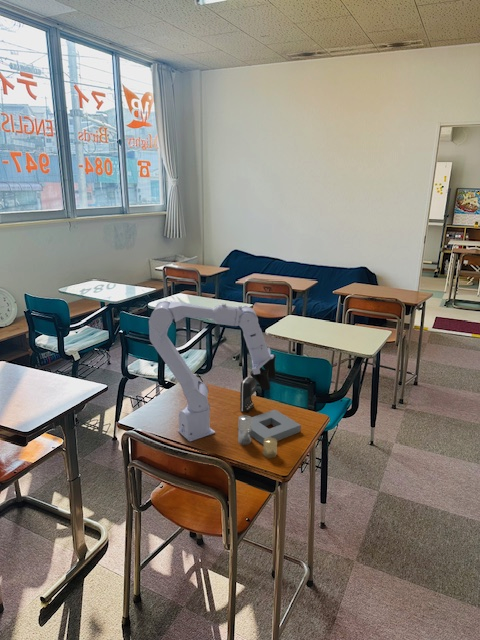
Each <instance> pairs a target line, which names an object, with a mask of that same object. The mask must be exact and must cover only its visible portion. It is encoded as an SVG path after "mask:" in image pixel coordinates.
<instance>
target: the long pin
mask: <svg viewBox="0 0 480 640" xmlns="http://www.w3.org/2000/svg"><path fill="white" fill-rule="evenodd" d="M251 417H252V416H250V415H248V414H243V415H240V416H238V426H237V427H238V431H237V433H238V434H237V437H238V439H237V442H238V443H239V444H240V445H243V446H246V445H250V444H251V443H252V437H251V424H252V418H251Z"/></svg>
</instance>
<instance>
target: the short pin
mask: <svg viewBox="0 0 480 640" xmlns="http://www.w3.org/2000/svg"><path fill="white" fill-rule="evenodd" d="M262 446H263V447H262V449H263V450H262V455H263V457H264V458H266V457H267V458H266V459H274V458H276V457H277V456H278V455H277V454H278V452H277V451H278V441H277V440H276V439H275V438H271V437H268V438H265V439H264V444H262ZM276 455H277V456H276ZM273 457H274V458H273Z"/></svg>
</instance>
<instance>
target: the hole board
mask: <svg viewBox="0 0 480 640" xmlns="http://www.w3.org/2000/svg"><path fill="white" fill-rule="evenodd" d="M250 417H251V418H252V424H251V438H253V439H254V440H256V441H257V442H258V443H259V444H261V445H263V444H264V439H265V438H268V437H271V438H275V439H276V440H277V442H279V441H280V440H284V439H286V438H288V437H291V436H294V435H296V434H298V433H301V430H302V428H301V427H302V425H301V424H300V423H298V421H297V422H296V421H295V420H294V419H292V418H290V417H289V416H287V415H285V414H283V413H282V412H280V411H278V410H277V409H272V410H269V411H267V412H263V413H260V414H258V415H257V414H256V415H255V416H250ZM270 425H272V426H273V427H271V428H268V427H267V426H270Z"/></svg>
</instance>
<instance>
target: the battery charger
mask: <svg viewBox="0 0 480 640" xmlns="http://www.w3.org/2000/svg"><path fill="white" fill-rule="evenodd" d="M239 391H240V393H239V394H240V395H239V397H240V399H239V401H240V402H239V405H240V408H239V410H240V412H242V413H243V412H245V413H249V412H250V411H251V410H252V408H253V407H254V405H255V404H254V402H253V399H252V396H253V395H254V393H255V392H256V391H257V381H256V380H255V379H254V378H253V377H250V376H246V377H245V378H244V379H243V380H242V381H241V383H240V390H239Z"/></svg>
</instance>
